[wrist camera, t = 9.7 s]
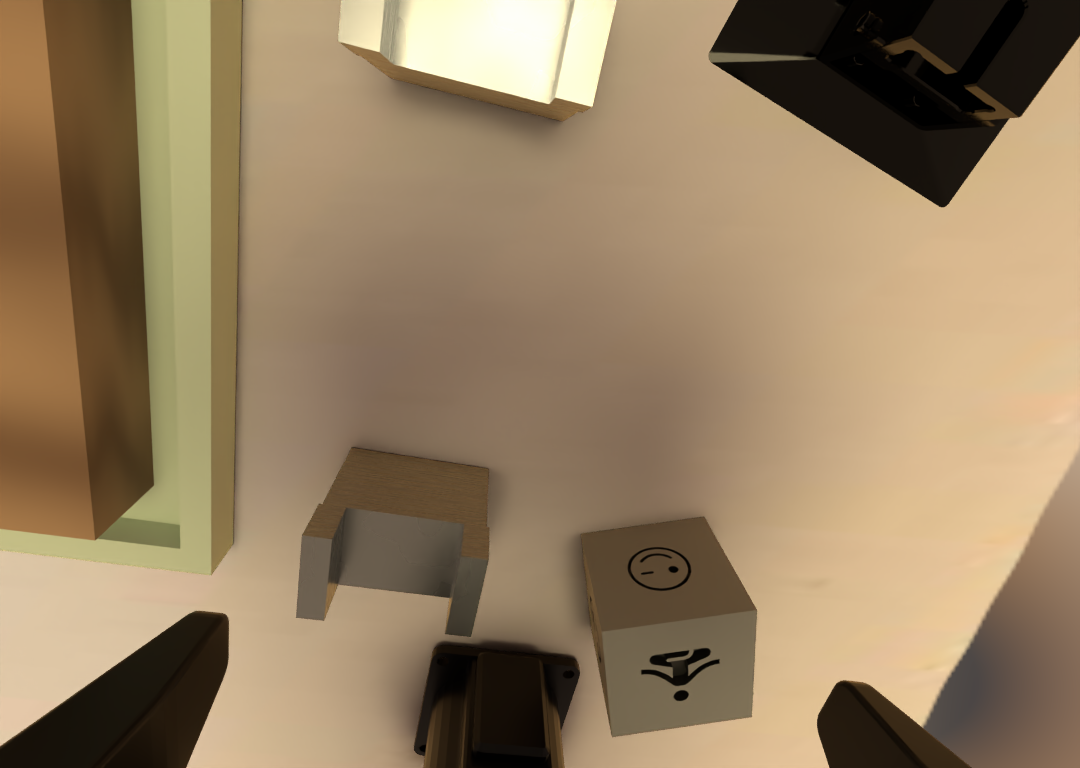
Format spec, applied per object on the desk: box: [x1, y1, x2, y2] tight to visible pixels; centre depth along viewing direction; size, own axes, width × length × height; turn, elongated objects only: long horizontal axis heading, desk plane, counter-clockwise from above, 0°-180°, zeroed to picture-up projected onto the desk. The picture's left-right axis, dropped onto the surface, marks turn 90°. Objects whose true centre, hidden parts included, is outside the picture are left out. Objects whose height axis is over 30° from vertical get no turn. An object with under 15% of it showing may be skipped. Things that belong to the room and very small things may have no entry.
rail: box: [0, 0, 154, 541], centre depth 14 cm, size 18×3×3 cm, turn 168°
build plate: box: [709, 0, 1080, 207], centre depth 14 cm, size 12×7×5 cm, turn 63°
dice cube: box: [581, 517, 757, 737], centre depth 21 cm, size 5×5×5 cm
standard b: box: [338, 0, 617, 121], centre depth 13 cm, size 3×5×5 cm, turn 78°
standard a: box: [296, 448, 490, 637], centre depth 18 cm, size 3×5×5 cm, turn 78°
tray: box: [0, 0, 242, 575], centre depth 15 cm, size 23×8×2 cm, turn 168°
